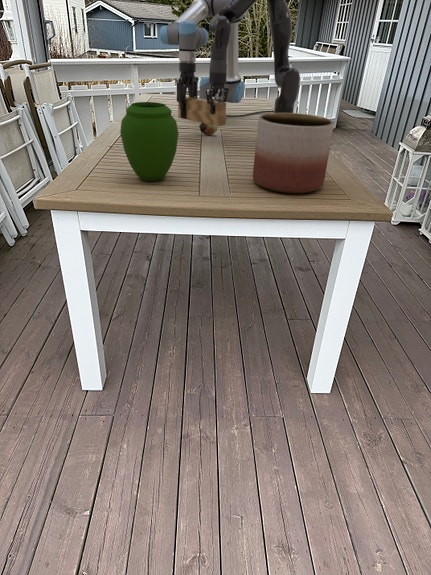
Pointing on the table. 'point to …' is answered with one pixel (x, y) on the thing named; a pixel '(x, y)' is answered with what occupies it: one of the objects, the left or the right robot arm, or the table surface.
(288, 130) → the planter
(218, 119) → the bar
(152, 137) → the vase
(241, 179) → the table surface
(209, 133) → the seashell
